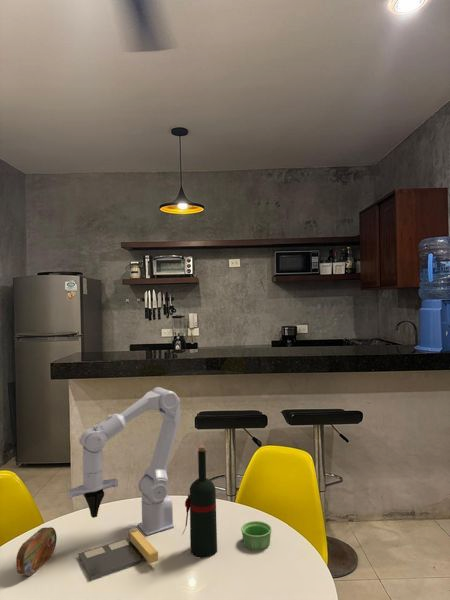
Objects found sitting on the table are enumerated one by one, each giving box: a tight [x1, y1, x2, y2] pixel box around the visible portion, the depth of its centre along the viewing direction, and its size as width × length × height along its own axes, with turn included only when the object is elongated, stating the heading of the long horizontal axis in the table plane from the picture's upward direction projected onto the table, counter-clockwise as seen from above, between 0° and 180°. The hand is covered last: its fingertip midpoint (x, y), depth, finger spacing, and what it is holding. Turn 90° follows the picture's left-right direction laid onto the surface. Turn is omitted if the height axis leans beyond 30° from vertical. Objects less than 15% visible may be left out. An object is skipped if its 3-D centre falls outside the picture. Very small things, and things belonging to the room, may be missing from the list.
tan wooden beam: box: [127, 527, 159, 565], centre depth 126 cm, size 16×3×2 cm, turn 33°
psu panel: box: [77, 537, 148, 582], centre depth 124 cm, size 17×13×2 cm
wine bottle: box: [181, 445, 218, 559], centre depth 128 cm, size 8×10×30 cm
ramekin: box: [240, 520, 272, 551], centre depth 131 cm, size 9×9×4 cm
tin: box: [15, 526, 58, 577], centre depth 122 cm, size 15×3×8 cm, turn 168°
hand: (93, 516), depth 131 cm, fingers closed
